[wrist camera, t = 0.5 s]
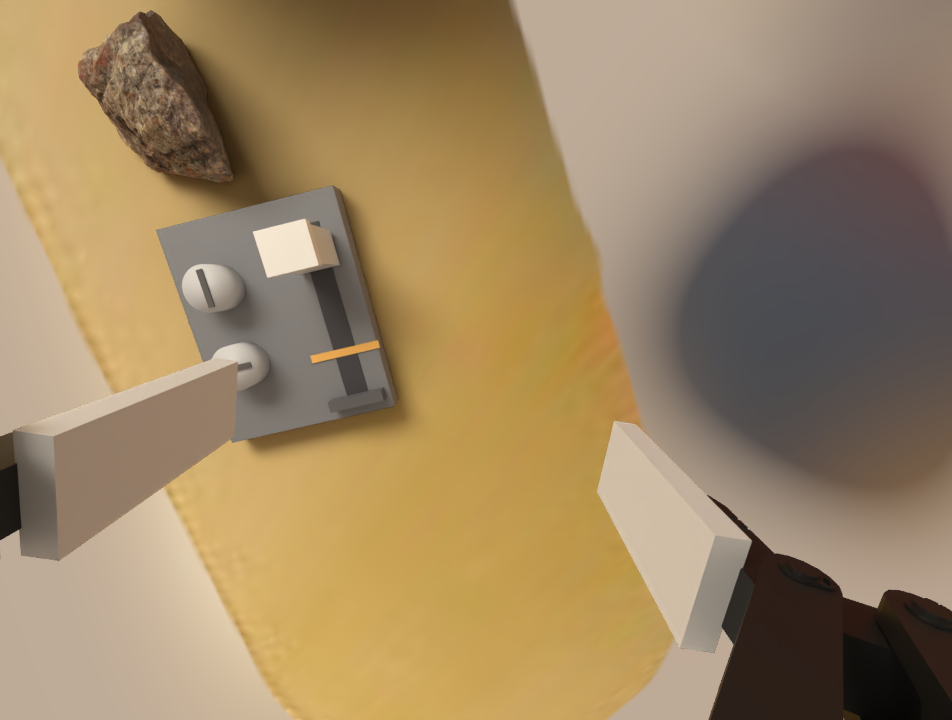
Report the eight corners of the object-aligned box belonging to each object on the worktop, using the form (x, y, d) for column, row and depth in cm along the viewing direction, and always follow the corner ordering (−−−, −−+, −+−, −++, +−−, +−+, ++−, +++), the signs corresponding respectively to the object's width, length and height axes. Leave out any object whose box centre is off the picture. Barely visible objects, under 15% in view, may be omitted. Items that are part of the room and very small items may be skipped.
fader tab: (287, 238, 38) (252, 231, 32) (331, 227, 37) (304, 218, 32) (298, 277, 38) (267, 277, 33) (342, 266, 38) (318, 265, 32)
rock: (204, 14, 37) (100, 54, 38) (120, -74, 29) (-12, -20, 30) (265, 180, 39) (163, 217, 40) (202, 144, 30) (73, 191, 31)
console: (171, 232, 40) (132, 226, 35) (342, 189, 39) (324, 178, 35) (243, 435, 43) (216, 453, 39) (400, 399, 43) (391, 414, 38)
